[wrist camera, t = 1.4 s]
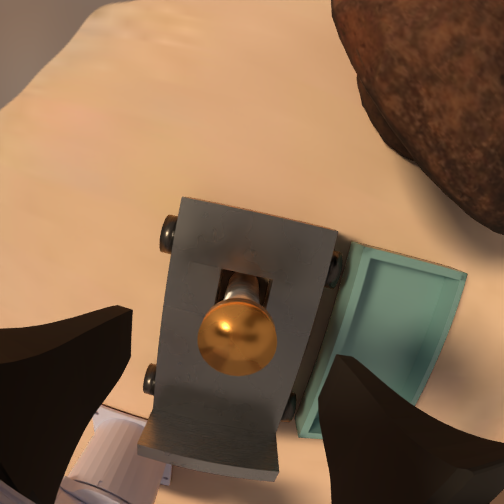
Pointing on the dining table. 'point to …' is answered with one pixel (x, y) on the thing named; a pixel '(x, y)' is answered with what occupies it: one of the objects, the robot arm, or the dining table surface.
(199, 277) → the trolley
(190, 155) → the dining table surface
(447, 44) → the jug
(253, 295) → the pin
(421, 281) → the tray
